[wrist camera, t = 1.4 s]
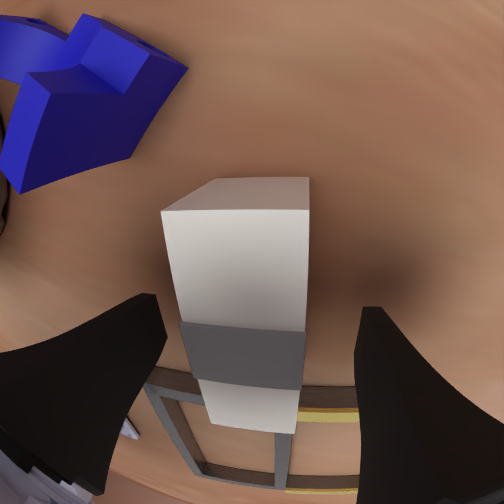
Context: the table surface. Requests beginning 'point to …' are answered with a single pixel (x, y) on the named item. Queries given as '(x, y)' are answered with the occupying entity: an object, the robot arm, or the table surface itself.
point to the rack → (309, 410)
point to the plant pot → (2, 186)
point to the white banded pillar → (243, 295)
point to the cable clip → (77, 96)
